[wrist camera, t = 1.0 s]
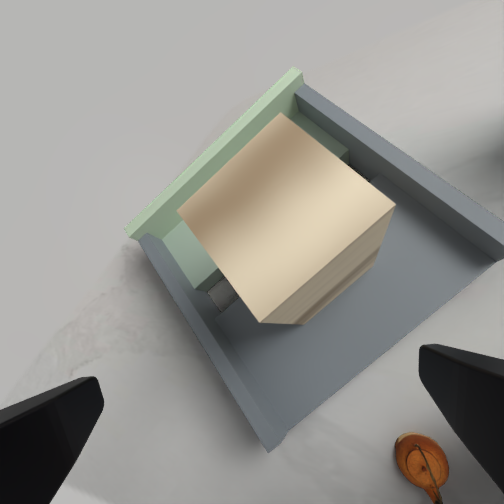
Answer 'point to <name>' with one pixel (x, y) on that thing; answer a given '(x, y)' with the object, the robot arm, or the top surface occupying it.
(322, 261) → the beech block
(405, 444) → the teapot
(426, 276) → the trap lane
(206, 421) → the top surface
